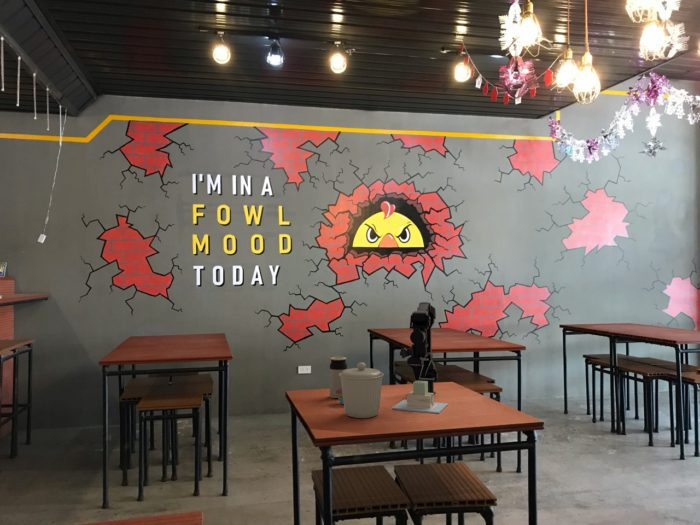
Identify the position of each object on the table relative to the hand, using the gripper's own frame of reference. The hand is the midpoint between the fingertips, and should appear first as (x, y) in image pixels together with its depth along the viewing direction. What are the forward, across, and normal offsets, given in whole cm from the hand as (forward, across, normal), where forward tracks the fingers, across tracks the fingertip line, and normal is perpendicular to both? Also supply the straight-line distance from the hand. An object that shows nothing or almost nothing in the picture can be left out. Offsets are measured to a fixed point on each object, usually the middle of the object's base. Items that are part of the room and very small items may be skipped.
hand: (420, 378), depth 235 cm
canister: (+12, +22, -18) cm, 31 cm away
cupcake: (+12, +6, -32) cm, 35 cm away
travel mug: (+12, -4, -40) cm, 42 cm away
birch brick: (+11, 0, 0) cm, 11 cm away
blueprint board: (+12, 0, 0) cm, 12 cm away
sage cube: (+6, 0, 0) cm, 6 cm away
